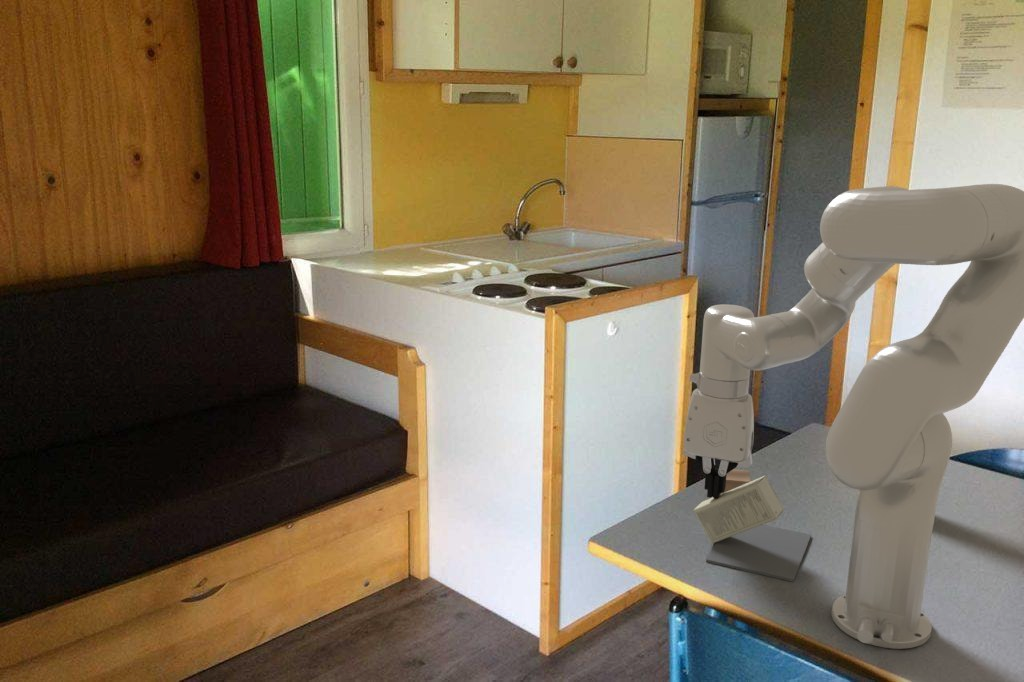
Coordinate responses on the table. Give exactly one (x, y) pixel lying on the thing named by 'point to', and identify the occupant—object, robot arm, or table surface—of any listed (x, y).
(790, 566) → the mat
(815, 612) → the table surface
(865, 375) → the robot arm
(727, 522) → the skincare box
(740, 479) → the walnut block
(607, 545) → the table surface
